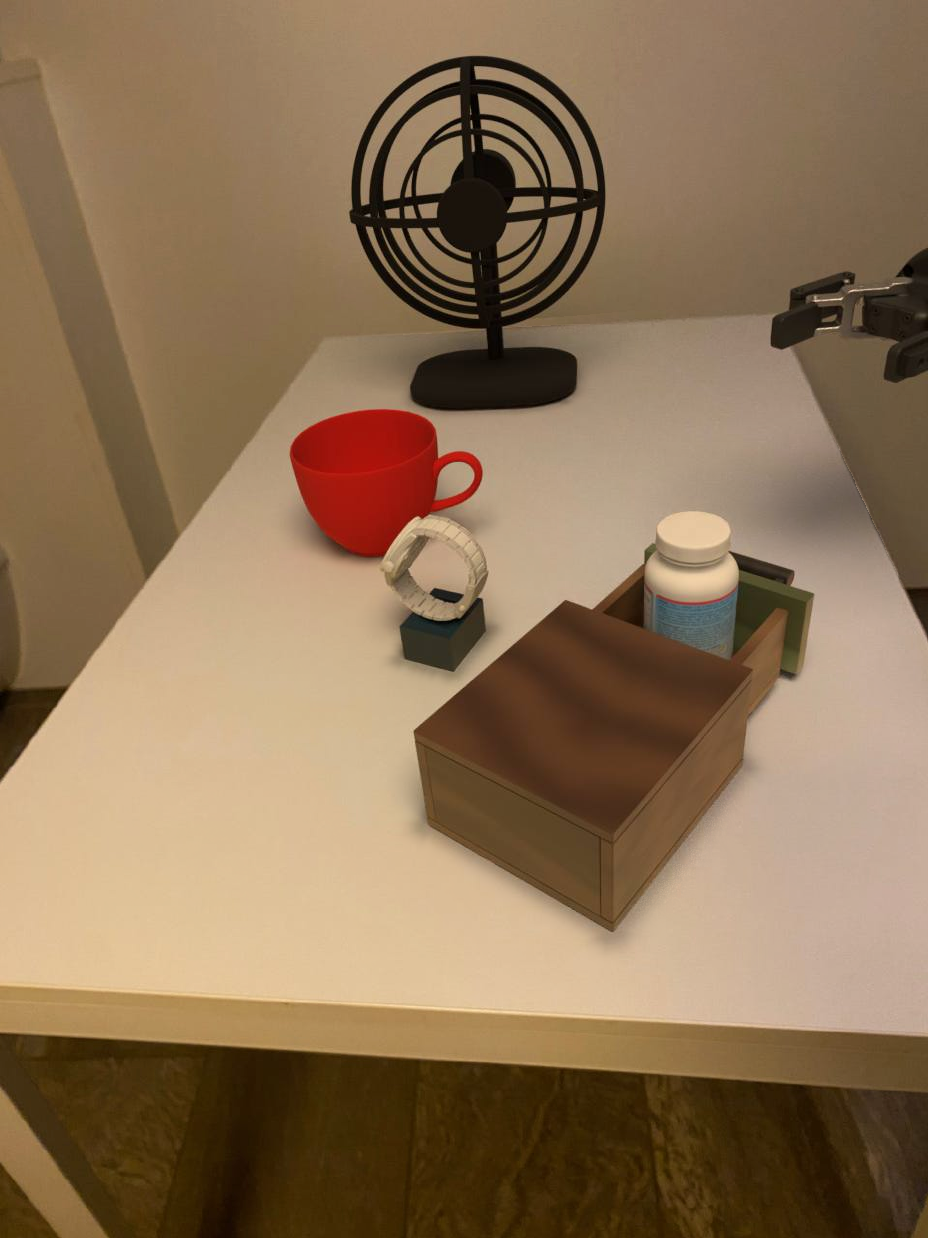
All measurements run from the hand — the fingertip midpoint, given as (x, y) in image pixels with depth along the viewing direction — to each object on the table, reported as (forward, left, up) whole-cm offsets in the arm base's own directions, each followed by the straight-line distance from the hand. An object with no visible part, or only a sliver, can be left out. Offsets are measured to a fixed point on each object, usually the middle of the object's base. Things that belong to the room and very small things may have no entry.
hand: (829, 349), depth 61 cm
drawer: (+3, +10, -21) cm, 23 cm away
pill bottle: (+3, +11, -20) cm, 23 cm away
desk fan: (+49, -26, -22) cm, 60 cm away
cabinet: (+3, +23, -22) cm, 32 cm away
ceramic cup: (+35, +6, -22) cm, 42 cm away
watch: (+21, +16, -22) cm, 35 cm away
